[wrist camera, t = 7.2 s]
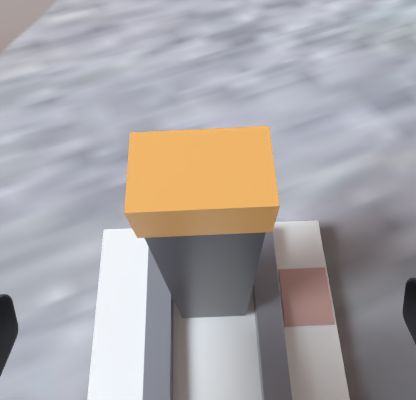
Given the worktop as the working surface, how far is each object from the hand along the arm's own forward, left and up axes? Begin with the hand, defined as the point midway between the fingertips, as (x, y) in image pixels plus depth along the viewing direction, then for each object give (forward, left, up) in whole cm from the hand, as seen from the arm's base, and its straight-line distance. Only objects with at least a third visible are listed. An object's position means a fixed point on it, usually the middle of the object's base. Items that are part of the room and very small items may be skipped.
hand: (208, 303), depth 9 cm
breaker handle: (+1, -2, -7) cm, 8 cm away
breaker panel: (0, 0, -9) cm, 9 cm away
